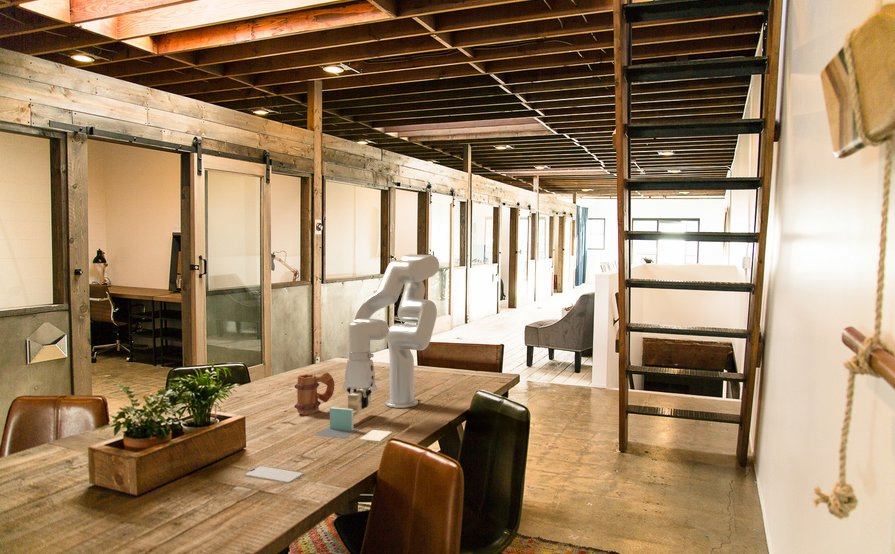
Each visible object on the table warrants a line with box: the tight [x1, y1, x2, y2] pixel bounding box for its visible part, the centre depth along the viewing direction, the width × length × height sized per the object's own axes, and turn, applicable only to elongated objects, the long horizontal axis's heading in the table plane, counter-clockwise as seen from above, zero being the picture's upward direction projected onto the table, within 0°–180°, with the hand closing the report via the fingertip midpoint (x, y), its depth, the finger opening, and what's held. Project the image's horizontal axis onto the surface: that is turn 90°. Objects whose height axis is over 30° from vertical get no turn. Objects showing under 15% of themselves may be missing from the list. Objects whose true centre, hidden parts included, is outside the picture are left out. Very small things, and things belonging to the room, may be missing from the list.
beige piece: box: [347, 387, 372, 416], centre depth 216 cm, size 16×5×6 cm, turn 162°
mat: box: [314, 425, 361, 439], centre depth 203 cm, size 12×11×1 cm
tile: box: [329, 406, 354, 431], centre depth 205 cm, size 2×8×7 cm, turn 72°
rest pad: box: [359, 429, 393, 443], centre depth 198 cm, size 10×7×1 cm
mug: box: [294, 371, 336, 416], centre depth 227 cm, size 15×8×15 cm, turn 105°
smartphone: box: [243, 465, 305, 484], centre depth 166 cm, size 7×1×15 cm
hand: (359, 406), depth 218 cm, fingers closed on beige piece, 3 cm apart
